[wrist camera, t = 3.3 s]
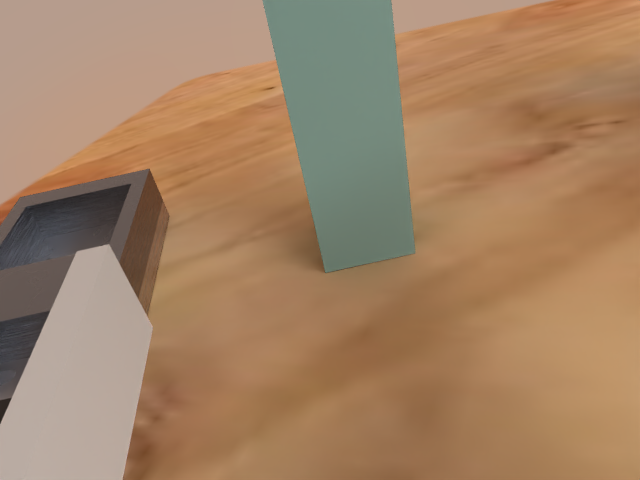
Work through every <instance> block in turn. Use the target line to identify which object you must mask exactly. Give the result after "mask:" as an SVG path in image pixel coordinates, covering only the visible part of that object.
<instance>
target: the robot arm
mask: <svg viewBox="0 0 640 480" xmlns="http://www.w3.org/2000/svg"><path fill="white" fill-rule="evenodd" d="M152 330H153V327H152V325H151V323H150V321H149V319H148V317H147V315H146V313H145V311H144V309H143V308H142V306H141V304H140V302H139V300H138V298H137V296H136V294H135V292H134V290H133V289H132V287H131V285H130V283H129V281H128V279H127V277H126V275H125V273H124V271H123V270H122V268H121V266H120V264H119V262H118V260H117V258H116V256H115V254H114V252H113V251H112V249H111V247H110V245H109V244H108V245H103V246H99V247H94V248H90V249H85V250H81V251H77V252H76V254H75V256H74V259H73V261H72V263H71V266H70V268H69V270H68V272H67V275H66V277H65V279H64V281H63V284H62V286H61V288H60V290H59V293H58V295H57V297H56V299H55V302H54V304H53V306H52V308H51V311H50V313H49V315H48V317H47V320H46V322H45V324H44V326H43V329H42V331H41V333H40V336H39V338H38V340H37V342H36V345H35V347H34V349H33V351H32V354H31V356H30V358H29V360H28V363H27V365H26V367H25V369H24V372H23V374H22V376H21V378H20V381H19V383H18V385H17V387H16V390H15V392H14V394H13V396H12V398H8V399H3V400H0V480H123V475H124V470H125V465H126V460H127V455H128V450H129V445H130V440H131V435H132V430H133V425H134V420H135V415H136V410H137V405H138V400H139V395H140V390H141V385H142V380H143V375H144V370H145V365H146V360H147V355H148V350H149V345H150V340H151V335H152Z"/></svg>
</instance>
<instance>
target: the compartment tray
mask: <svg viewBox="0 0 640 480" xmlns="http://www.w3.org/2000/svg"><path fill="white" fill-rule="evenodd" d="M168 220H169V213H168V211H167V209H166V206H165V204H164V202H163V199H162V197H161V195H160V192H159V190H158V188H157V185H156V183H155V180H154V178H153V176H152V173H151V171H150V169H146V170H142V171H137V172H133V173H128V174H124V175H119V176H115V177H110V178H105V179H101V180H96V181H92V182H87V183H83V184H78V185H74V186H69V187H65V188H60V189H56V190H51V191H47V192H42V193H38V194H33V195H29V196H24V197H20V198H19V200H18V201H17V203H16V204H15V205H14V207H13V208H12V210H11V211H10V213H9V214H8V216H7V217H6V218H5V220H4V221H3V223H2V224H1V226H0V400H3V399H8V398H12V396H13V394H14V392H15V390H16V387H17V385H18V383H19V381H20V378H21V376H22V374H23V372H24V369H25V367H26V365H27V363H28V360H29V358H30V356H31V354H32V351H33V349H34V347H35V345H36V342H37V340H38V338H39V336H40V333H41V331H42V329H43V326H44V324H45V322H46V320H47V317H48V315H49V313H50V311H51V308H52V306H53V304H54V302H55V299H56V297H57V295H58V293H59V290H60V288H61V286H62V284H63V281H64V279H65V277H66V275H67V272H68V270H69V268H70V266H71V263H72V261H73V259H74V256H75V254H76V252H77V251H81V250H85V249H90V248H94V247H99V246H103V245H108V244H109V245H110V247H111V249H112V251H113V252H114V254H115V256H116V258H117V260H118V262H119V264H120V266H121V268H122V270H123V271H124V273H125V275H126V277H127V279H128V281H129V283H130V285H131V287H132V289H133V290H134V292H135V294H136V296H137V298H138V300H139V302H140V304H141V306H142V308H143V309H144V311H145V313H146V315H147V314H148V310H149V305H150V301H151V296H152V292H153V287H154V283H155V278H156V274H157V269H158V265H159V260H160V256H161V251H162V247H163V242H164V238H165V233H166V229H167V224H168Z"/></svg>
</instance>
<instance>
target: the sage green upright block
mask: <svg viewBox="0 0 640 480" xmlns="http://www.w3.org/2000/svg"><path fill="white" fill-rule="evenodd" d="M263 4H264V8H265V13H266V17H267V21H268V26H269V30H270V35H271V38H272V43H273V48H274V52H275V56H276V61H277V65H278V69H279V74H280V78H281V82H282V87H283V91H284V95H285V100H286V104H287V108H288V113H289V117H290V121H291V126H292V130H293V134H294V139H295V143H296V147H297V152H298V156H299V160H300V165H301V169H302V173H303V178H304V182H305V186H306V191H307V195H308V199H309V204H310V208H311V212H312V217H313V221H314V225H315V230H316V234H317V238H318V243H319V247H320V252H321V256H322V260H323V265H324V269H325V273H327V272H332V271H336V270H341V269H345V268H350V267H355V266H359V265H364V264H368V263H373V262H377V261H382V260H387V259H391V258H396V257H400V256H405V255H409V254H414V253H415V245H414V234H413V224H412V213H411V203H410V192H409V182H408V171H407V160H406V150H405V139H404V129H403V118H402V108H401V97H400V87H399V76H398V66H397V55H396V45H395V34H394V24H393V13H392V3H391V0H263Z"/></svg>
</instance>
